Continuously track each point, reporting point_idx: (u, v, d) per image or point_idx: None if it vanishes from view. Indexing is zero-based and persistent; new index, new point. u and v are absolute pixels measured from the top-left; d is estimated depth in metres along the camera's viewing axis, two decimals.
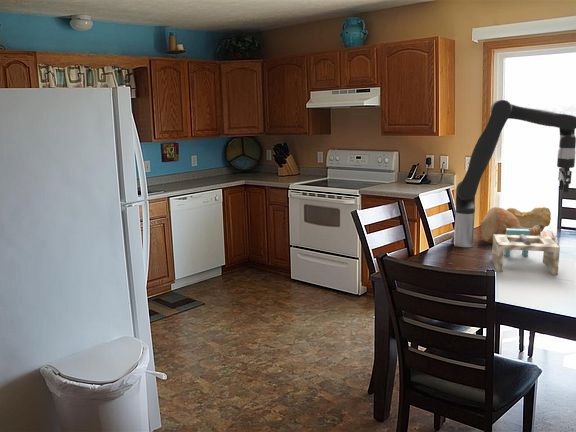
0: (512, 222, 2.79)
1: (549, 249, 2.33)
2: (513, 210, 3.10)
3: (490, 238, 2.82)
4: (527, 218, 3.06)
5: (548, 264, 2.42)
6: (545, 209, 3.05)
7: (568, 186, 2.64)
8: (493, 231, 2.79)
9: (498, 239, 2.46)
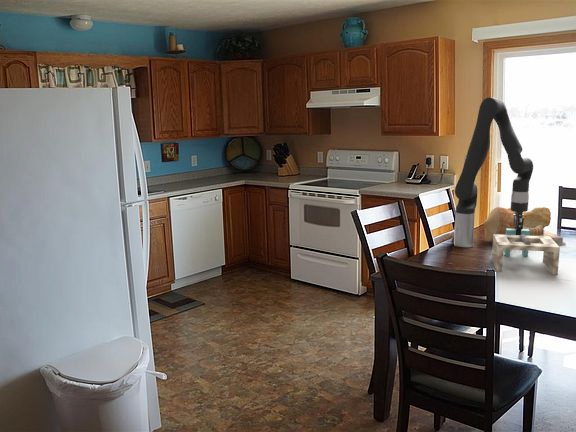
0: None
1: (549, 249, 2.33)
2: None
3: None
4: (527, 218, 3.06)
5: (548, 264, 2.42)
6: (545, 209, 3.05)
7: (520, 232, 2.60)
8: (496, 231, 2.79)
9: (498, 239, 2.46)
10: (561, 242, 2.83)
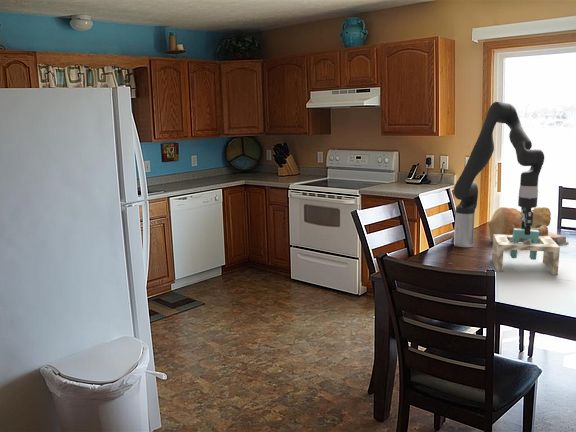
0: (520, 222, 2.79)
1: (549, 249, 2.33)
2: None
3: None
4: None
5: (548, 264, 2.42)
6: (545, 209, 3.05)
7: (530, 228, 2.38)
8: (501, 231, 2.79)
9: (498, 239, 2.46)
10: (564, 241, 2.85)
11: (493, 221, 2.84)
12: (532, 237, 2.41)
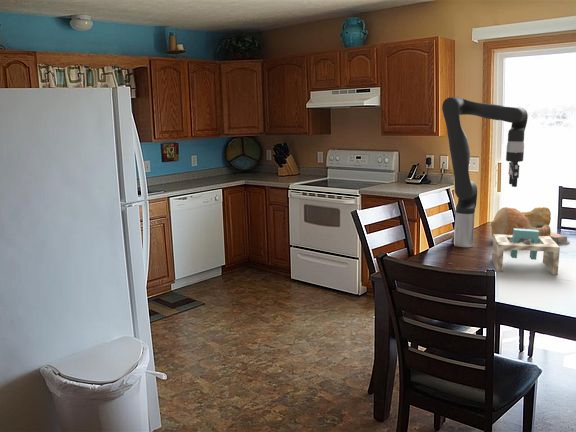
0: (523, 222, 2.78)
1: (549, 249, 2.33)
2: None
3: None
4: None
5: (548, 264, 2.42)
6: (545, 209, 3.05)
7: (516, 180, 2.57)
8: (504, 231, 2.78)
9: (498, 239, 2.46)
10: (566, 241, 2.85)
11: (496, 221, 2.84)
12: (532, 237, 2.41)
